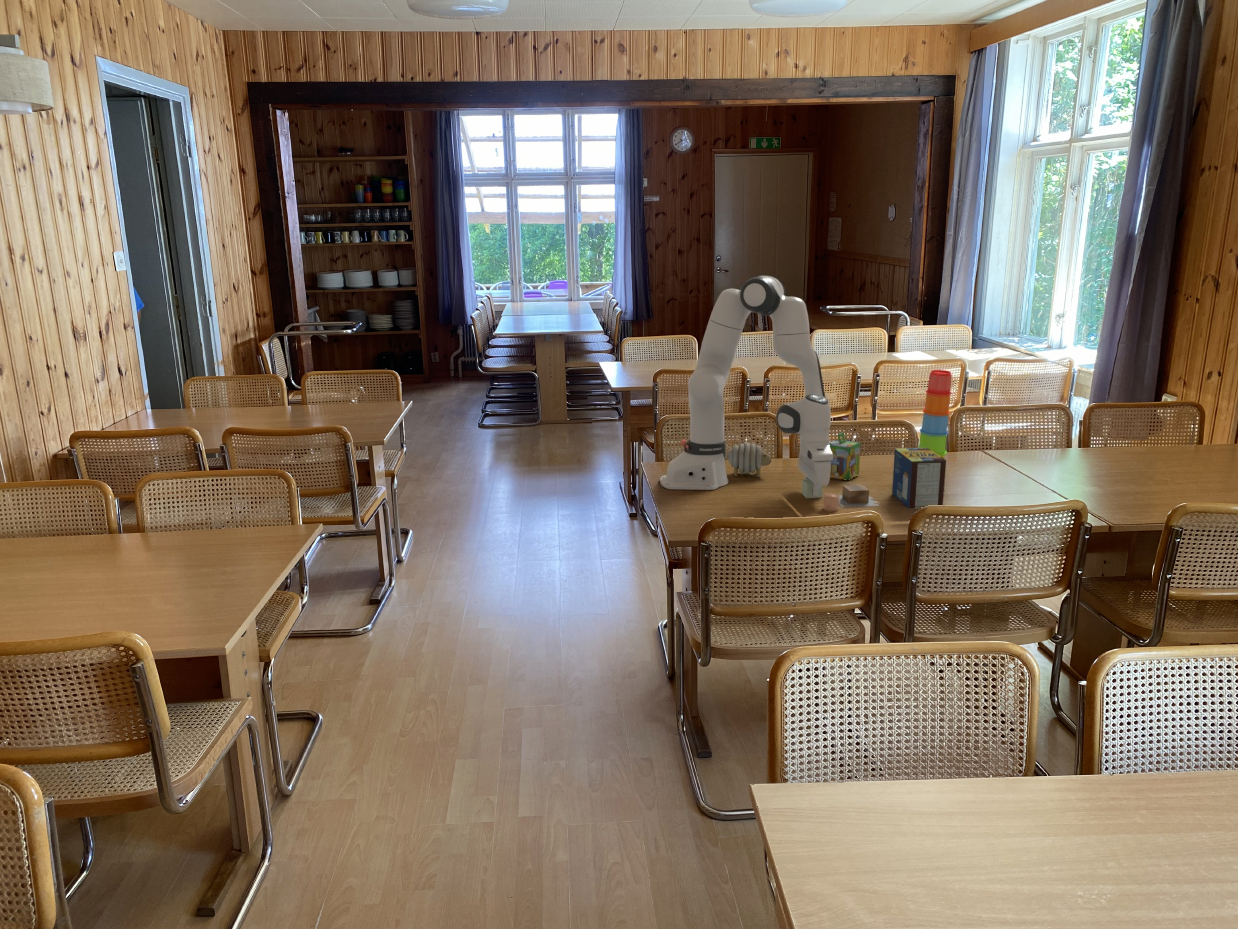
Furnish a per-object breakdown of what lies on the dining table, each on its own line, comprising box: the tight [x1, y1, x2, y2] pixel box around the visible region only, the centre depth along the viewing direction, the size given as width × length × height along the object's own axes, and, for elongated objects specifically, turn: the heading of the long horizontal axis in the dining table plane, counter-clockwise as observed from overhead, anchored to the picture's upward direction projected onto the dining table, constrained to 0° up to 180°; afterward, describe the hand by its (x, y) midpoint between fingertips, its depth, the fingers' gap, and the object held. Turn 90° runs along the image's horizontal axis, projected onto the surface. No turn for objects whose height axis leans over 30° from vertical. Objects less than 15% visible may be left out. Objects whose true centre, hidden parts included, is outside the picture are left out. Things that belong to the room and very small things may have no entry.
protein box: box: [891, 447, 947, 510], centre depth 270 cm, size 10×15×16 cm
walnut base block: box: [841, 484, 870, 504], centre depth 273 cm, size 6×6×4 cm
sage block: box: [801, 479, 824, 499], centre depth 278 cm, size 5×5×5 cm
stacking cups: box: [917, 369, 953, 459], centre depth 301 cm, size 10×10×35 cm
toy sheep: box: [724, 442, 772, 478], centre depth 304 cm, size 11×17×11 cm, turn 85°
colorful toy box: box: [829, 431, 861, 481], centre depth 300 cm, size 9×9×15 cm
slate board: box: [838, 494, 879, 508], centre depth 273 cm, size 12×12×1 cm
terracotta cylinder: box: [822, 492, 840, 512], centre depth 265 cm, size 4×4×5 cm
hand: (812, 491), depth 279 cm, fingers closed on sage block, 5 cm apart
